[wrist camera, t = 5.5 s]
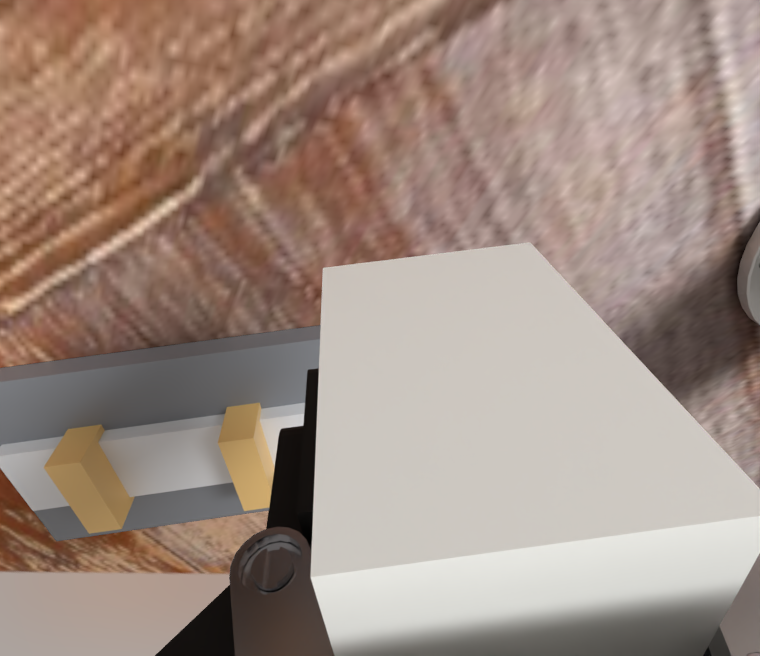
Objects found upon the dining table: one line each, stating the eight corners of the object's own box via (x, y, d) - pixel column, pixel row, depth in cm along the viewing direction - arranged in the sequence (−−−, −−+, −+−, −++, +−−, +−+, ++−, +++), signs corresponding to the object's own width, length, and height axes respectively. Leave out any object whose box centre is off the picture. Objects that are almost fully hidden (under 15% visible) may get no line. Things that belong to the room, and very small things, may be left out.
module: (530, 242, 11) (782, 512, 5) (512, 466, 14) (639, 771, 8) (322, 268, 10) (310, 577, 5) (361, 486, 14) (381, 809, 8)
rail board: (334, 323, 29) (335, 368, 25) (361, 480, 36) (365, 533, 32) (-42, 373, 28) (-99, 427, 24) (65, 523, 35) (34, 582, 32)
